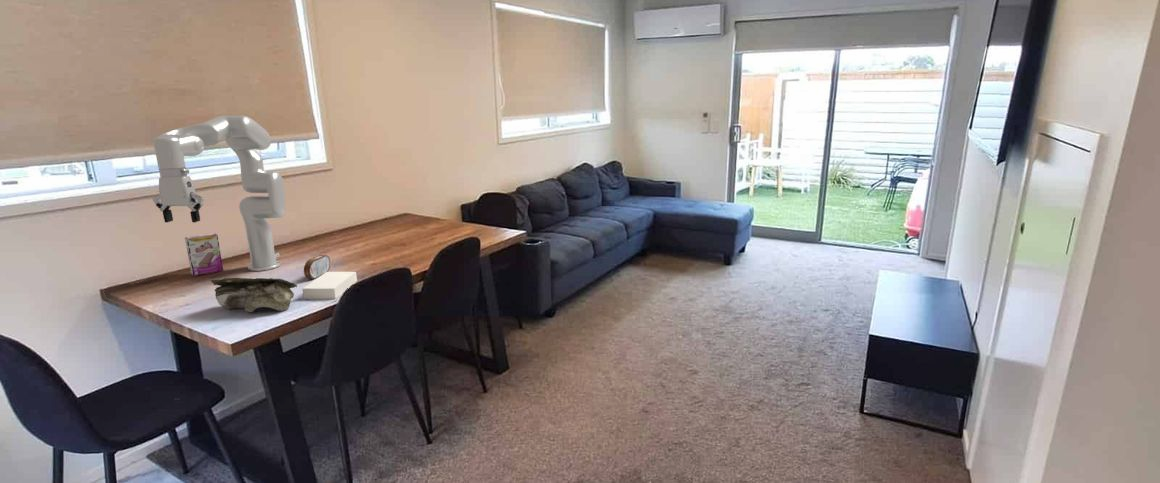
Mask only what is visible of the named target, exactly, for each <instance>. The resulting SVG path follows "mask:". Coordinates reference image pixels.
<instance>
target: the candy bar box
mask: <svg viewBox="0 0 1160 483" xmlns="http://www.w3.org/2000/svg"><path fill="white" fill-rule="evenodd" d="M184 240H185V245H186V246H185V247H186V253H187V257H188V263H189V268H190V273H191V275H192V276H193V277H196V276H197V277H198V276H202V275H208V274H213V273H220V272H223V271H224V267H223V261H222V255H221V247H220V242H219V237H218V234H217V233H215V232H214V233H213V232H212V233H205V234H197V235H189V236H185V237H184Z"/></svg>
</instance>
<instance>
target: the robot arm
mask: <svg viewBox="0 0 1160 483" xmlns="http://www.w3.org/2000/svg"><path fill="white" fill-rule="evenodd" d="M271 139H272V138H271V136H270V134H269V132H268V130H266V129H265V128H264V127H262V126H261V125H260V124H259V123H258V122H256V120H254V119H253V118H251V117H249V116H247V115H243V114H241V115H225V114H224V115H220V116H217V117H213V118H212V119H209V120H207V121H205V122H202V123H199V124H192V125H189V126H184V127H180V128H176V129H172V130H169V131H167V132H163V133H161V134H160V135H159V136H157V137H155V138H153V142H152V143H153V148H154V151H155V152H154V153H155V156H156V162H157V168H158V173H159V178H158V195H156V196H155V197H153V198H152V201H153V202H154V204H155V206H156V207H157V208H158V209H159V211H160V212H162V216H163V220H164V223H170V222H173V221H174V217H173V213H172V210H171V207H187V208H188V209H189V210H191V211H190V212H189V213H190V218H191V219H190V220H191V222H192V223H194V224H195V223H197V222H201V216H200V210H201V208H202V206H203V204H204V200H205V198H204V197H202V196H201V195H198V194H197V193H196V189H195V185H194V182H193V180H192V178H191V176H190V175H189V176H188V174H189V173H190V170H189V169H187V167H186V162H185V158H184V157H195V156H199V155H201V153H203V151H204V150H205V147H209V146H215V145H218V144H219V143H221V142H223V141H225V143H226V145H227V146H228V147H229V148H230V149H231V150H232V151H233V152H234V154H236V157H237V158H238V159H239V165H240V166H239V167H240V177H241V185H242V189H243V190H244V192H246V193H248V194H250V193H251V194H267V196H266V195H265V196H264V195H260V196H259V195H258V196H257V195H256V196H255V195H254V196H253V195H252V196H251V195H250V196H246V197H243V198H242V199H241V200H240V202H239V205H238V208H239V211H240V214H241V216H242V220H243V222H244V226H245V227H244V228H245V233H246V239H247V246H248V251H249V257H250V264H248V265H247V269H248V270H249V271H253V272H260V271H261V272H262V271H268V270H274V269H276V268H279V267H280V266H281V261H279V260H277V258H279V257H280V256H281V255H280V253H279V252H275V246H274V239H273V232H272V227H271V224H270V223H269V221H268V220H267V219H280V218H282V217H283V216H284V215H285V213H286V198H285V197H286V195H285V184H284V179H283V177H282V175H281V174H280V173H279V172H278V171H275V170H265V168H264V160H263V158H262V155H261V154H260V152H258V151H264V150H267V149H269V147H270V146H271V144H272V140H271Z"/></svg>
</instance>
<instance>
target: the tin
mask: <svg viewBox="0 0 1160 483" xmlns="http://www.w3.org/2000/svg"><path fill="white" fill-rule="evenodd" d="M303 266H304V267H303V274H304V277H305V278H307V279H309V280H315V279H317V278H318V277H320V276H321V275H323V274H324V273H326V272H329V270H330V268H331V259H330V256H329V255H327V254H322V253H321V254H318V255H315V256H313V257H311V258H308V259H307V260H306V262H305V264H304V265H303Z"/></svg>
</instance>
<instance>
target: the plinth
mask: <svg viewBox="0 0 1160 483" xmlns="http://www.w3.org/2000/svg"><path fill="white" fill-rule="evenodd" d="M357 282H358V277H357V272H356V271H328V272H326V273H324V274H323V275H321V276H319V277H317V278H315V279H313V280H312V281H311V282H309V283H307V285H305V286H303V287H302V296H303V299H304V300H306V299H308V300H309V299H316V300H318V299H319V300H320V299H328V300H329V299H333V300H334V299H336V300H337V298H338V297H340V296H341V295H342V294H344V292H346V291H347V290H348V289H350V288H351V287H352V286H353V285H354V284H356V283H357ZM352 284H353V285H352ZM351 285H352V286H351ZM350 286H351V287H350ZM347 288H348V289H347ZM346 289H347V290H346ZM345 290H346V291H345Z"/></svg>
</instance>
